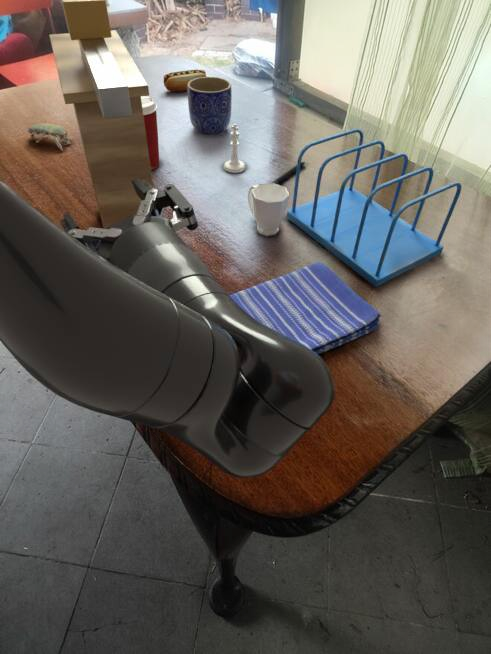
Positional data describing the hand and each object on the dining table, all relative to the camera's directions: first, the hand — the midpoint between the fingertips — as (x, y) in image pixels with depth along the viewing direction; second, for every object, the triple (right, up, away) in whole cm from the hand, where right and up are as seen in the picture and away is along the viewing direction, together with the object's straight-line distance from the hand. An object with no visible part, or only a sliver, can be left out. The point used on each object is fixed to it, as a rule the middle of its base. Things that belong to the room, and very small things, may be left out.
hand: (103, 202), depth 52 cm
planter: (+7, +38, +67) cm, 78 cm away
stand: (-5, +1, +33) cm, 33 cm away
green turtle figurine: (-32, +31, +60) cm, 75 cm away
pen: (+26, +20, +51) cm, 60 cm away
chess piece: (+14, +23, +54) cm, 60 cm away
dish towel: (+23, -13, +20) cm, 34 cm away
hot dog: (-2, +58, +86) cm, 104 cm away
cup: (+20, +6, +38) cm, 43 cm away
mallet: (-1, +16, +4) cm, 17 cm away
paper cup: (-7, +23, +54) cm, 59 cm away
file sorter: (+39, +3, +36) cm, 53 cm away
